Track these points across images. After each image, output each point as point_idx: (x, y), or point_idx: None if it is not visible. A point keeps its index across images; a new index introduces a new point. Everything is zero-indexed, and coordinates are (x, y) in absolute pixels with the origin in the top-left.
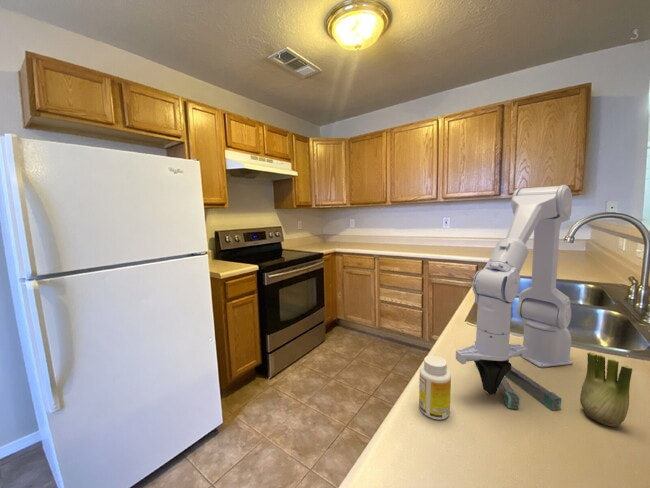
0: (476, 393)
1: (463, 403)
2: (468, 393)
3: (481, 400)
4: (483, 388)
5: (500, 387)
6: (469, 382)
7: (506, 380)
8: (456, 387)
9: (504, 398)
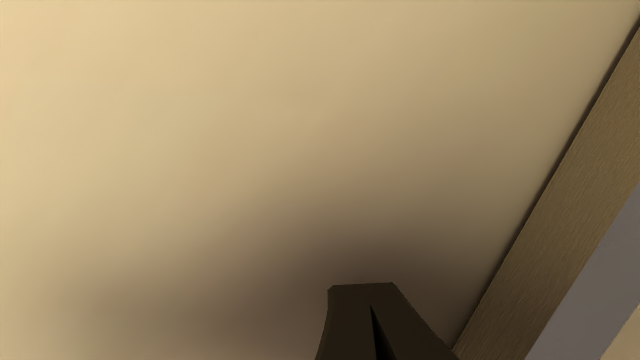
0: (262, 252)
1: (64, 352)
2: (182, 245)
3: (247, 334)
4: (328, 296)
5: (516, 288)
6: (304, 82)
7: (618, 324)
8: (102, 148)
9: (452, 349)
